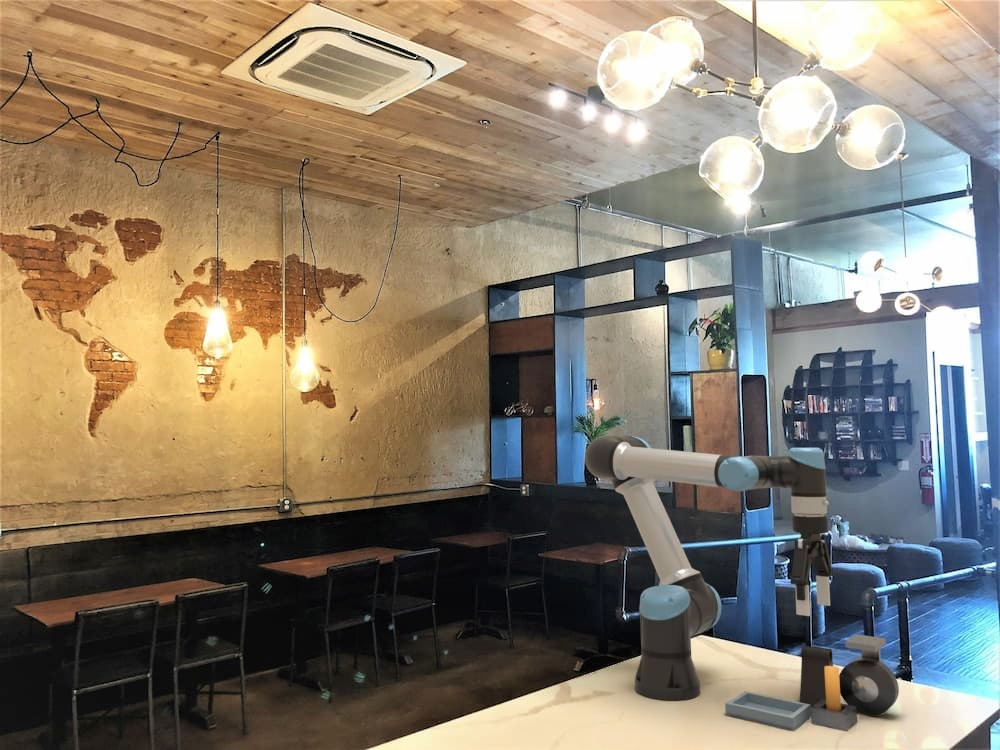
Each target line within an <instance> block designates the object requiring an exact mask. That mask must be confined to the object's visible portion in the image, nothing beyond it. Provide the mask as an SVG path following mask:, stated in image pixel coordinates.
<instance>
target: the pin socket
mask: <svg viewBox="0 0 1000 750" xmlns="http://www.w3.org/2000/svg"><path fill="white" fill-rule="evenodd" d="M810 721H811V722H810V723H811V724H813V725H818V726H822V727H828V728H831V729H835V730H840V731H845V732H848V731H849V730H851V728H852V727H853V726H854V725H855V724H857V722H858V712H857V706H852V705H848V704H847V703H842V702H841V712H839V711H834V710H829V709H827V708H826V700H821V701H819V702H818V703H817V704H815V705H814V706H813V707H811V717H810Z"/></svg>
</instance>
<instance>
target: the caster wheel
mask: <svg viewBox="0 0 1000 750" xmlns="http://www.w3.org/2000/svg"><path fill="white" fill-rule="evenodd" d="M886 644H887V642H886V637H885V638H884V637H877V636H871V635H864V634H855V635H853V636H851V637H850V638H848V639H847V640H845V641H844V646H845V648H847V649H848V648H849V649H856V650H860V651H861V652H860V653H861V657H858V658H855V659H854V660H852V661H851V662H849V663H848V664H847V665H845V666H844V667H843V668H842V669H841V671H839V679H840V697H842V698H841V699H843V700H844V702H845V704H847V705H852V706H857V714H858V713H859V714H860V715H863V716H868V717H879V716H881V715H883V714H885V713H886V712H887V711H888V710H889V709H890V708H891V707H892V706H894V704H895V703H896V701H897V700H898V698H899V694H900V693H899V692H900V690H899V689H900V688H899V687H900V686H899V683H898V680H897V678H896V676H895V674H894V672H893V671H892V670H891V668H889V667H888V666H887V664H885V663H884V662H882V656H881V655H882V654H881V648H883V647H885V645H886Z"/></svg>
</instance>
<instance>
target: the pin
mask: <svg viewBox="0 0 1000 750" xmlns="http://www.w3.org/2000/svg"><path fill="white" fill-rule="evenodd" d="M824 670H825V689H826V708H827V709H829V710H834V711H839V712H841V703H842V698H841V697H842V696H841V694H840V679H839V675H840V668H839V667H838V666H835V665H833V666H825V667H824Z"/></svg>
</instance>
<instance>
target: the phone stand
mask: <svg viewBox="0 0 1000 750" xmlns="http://www.w3.org/2000/svg"><path fill="white" fill-rule="evenodd" d="M800 655H801V656H800V657H801V664H800V665H801V670H800V687H799V688H800V689H799V702H800V703H805V704H810V705H811V708H812V707H813V706H814V705H815V704H817V703H818V702H819V701H821V700H826V689H825V670H824V667H825V666H834V661H833V651H832V649H831V648H826V647H825V648H824V647H817V646H811V645H804V644H803V645H802V646H801V651H800Z"/></svg>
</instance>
